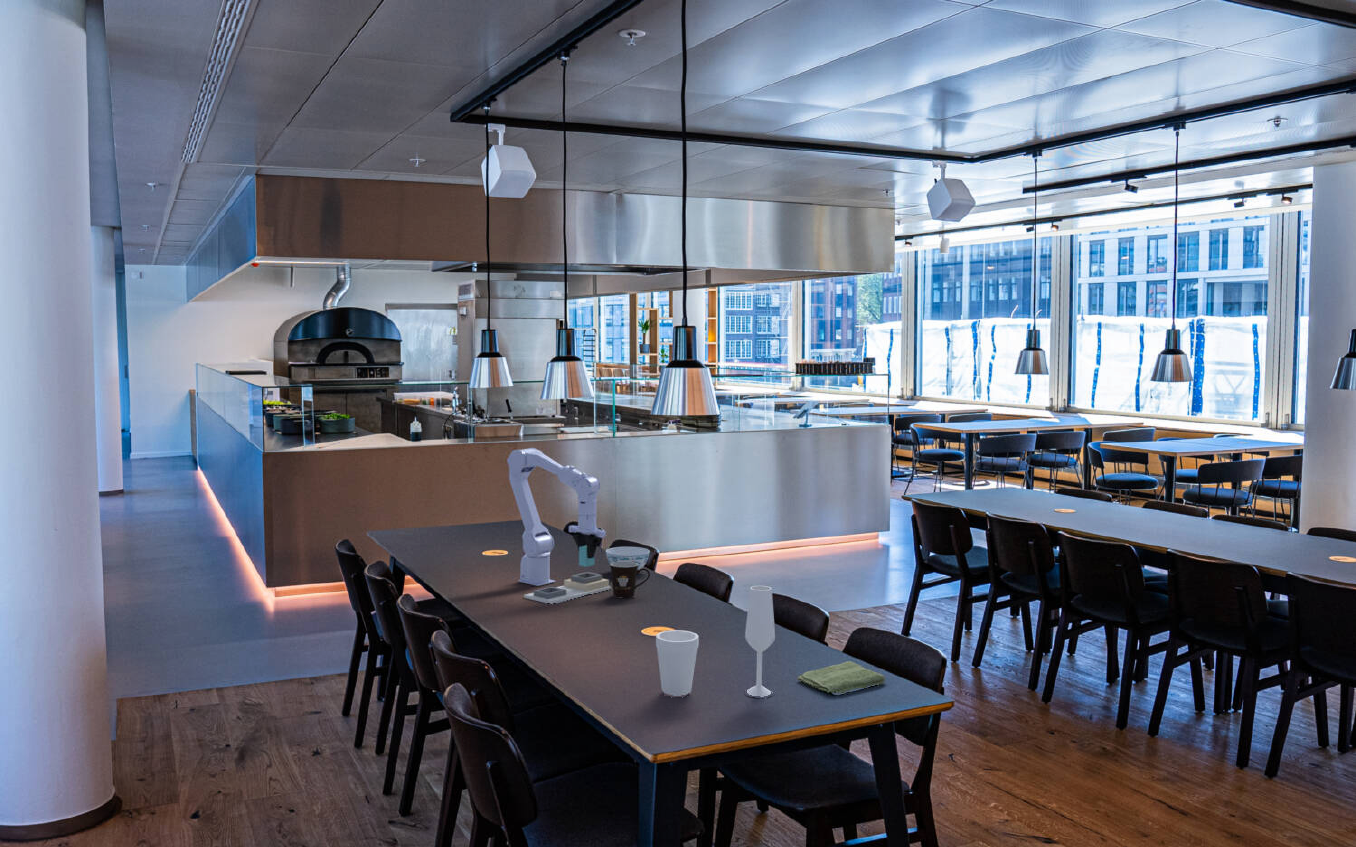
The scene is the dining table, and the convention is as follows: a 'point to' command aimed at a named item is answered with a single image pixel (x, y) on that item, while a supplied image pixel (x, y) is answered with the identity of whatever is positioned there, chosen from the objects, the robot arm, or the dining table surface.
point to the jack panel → (571, 588)
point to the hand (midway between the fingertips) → (586, 557)
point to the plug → (585, 557)
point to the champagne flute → (760, 630)
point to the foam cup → (677, 660)
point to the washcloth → (842, 677)
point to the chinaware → (628, 555)
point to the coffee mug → (625, 578)
